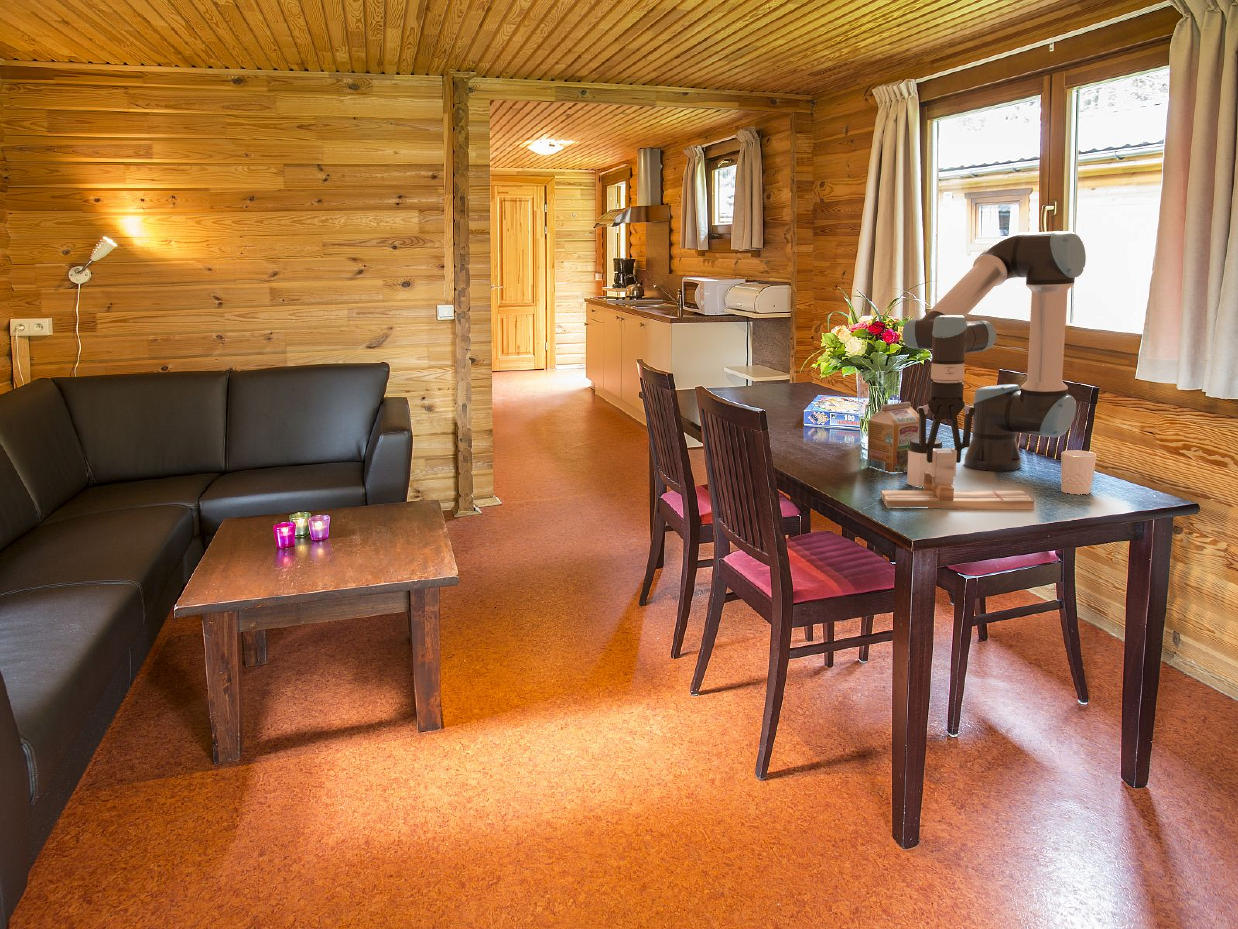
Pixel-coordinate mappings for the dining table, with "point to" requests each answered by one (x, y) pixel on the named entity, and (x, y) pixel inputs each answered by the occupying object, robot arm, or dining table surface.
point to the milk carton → (892, 436)
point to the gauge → (942, 476)
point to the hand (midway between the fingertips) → (942, 475)
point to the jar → (918, 462)
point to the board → (958, 499)
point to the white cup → (1077, 471)
